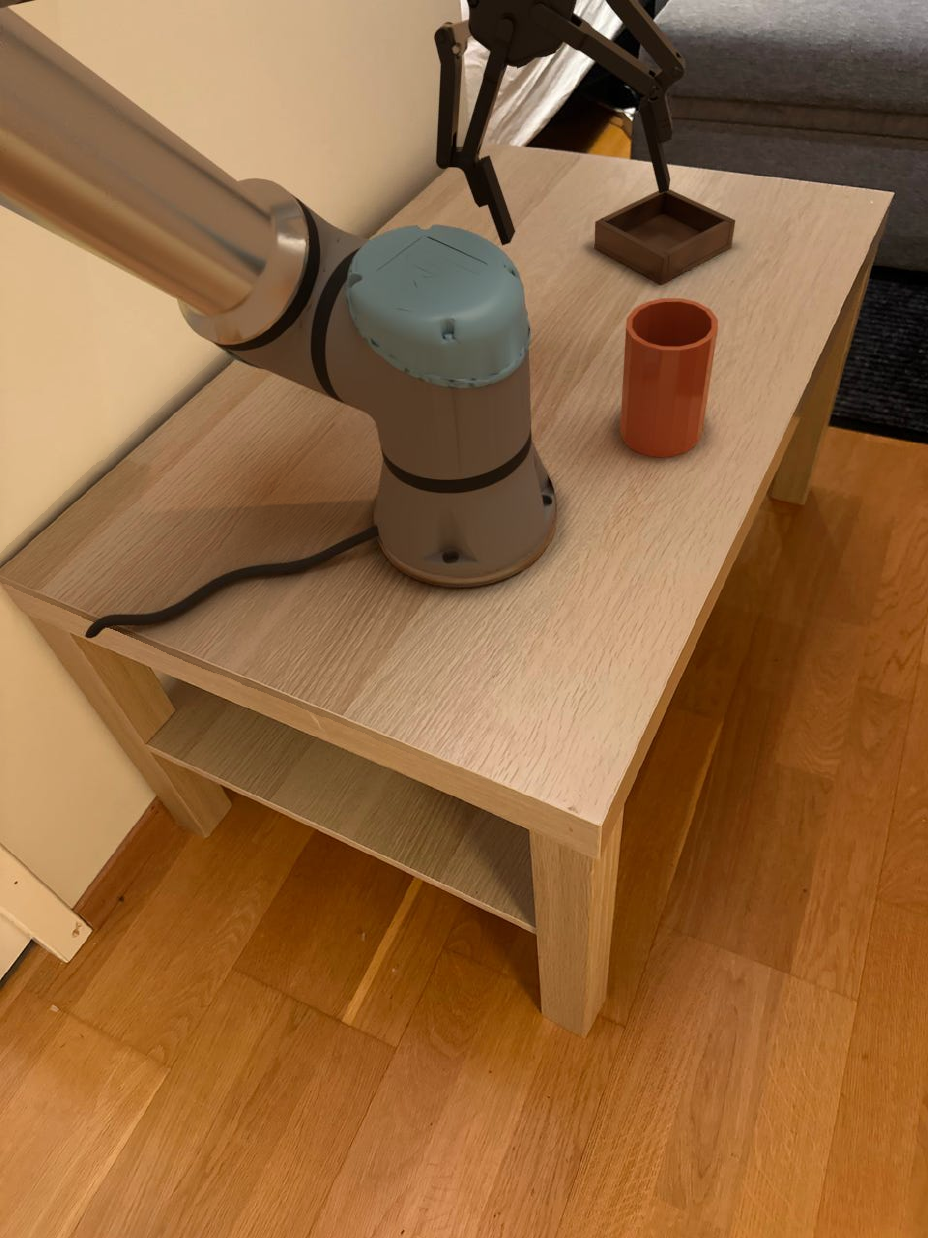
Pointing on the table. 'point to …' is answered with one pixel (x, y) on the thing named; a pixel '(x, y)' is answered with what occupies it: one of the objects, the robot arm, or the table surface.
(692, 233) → the tray
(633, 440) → the pencil cup
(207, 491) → the table surface
